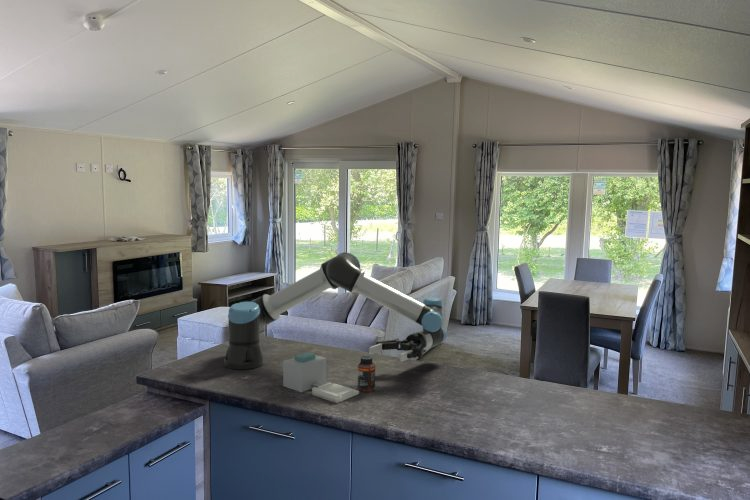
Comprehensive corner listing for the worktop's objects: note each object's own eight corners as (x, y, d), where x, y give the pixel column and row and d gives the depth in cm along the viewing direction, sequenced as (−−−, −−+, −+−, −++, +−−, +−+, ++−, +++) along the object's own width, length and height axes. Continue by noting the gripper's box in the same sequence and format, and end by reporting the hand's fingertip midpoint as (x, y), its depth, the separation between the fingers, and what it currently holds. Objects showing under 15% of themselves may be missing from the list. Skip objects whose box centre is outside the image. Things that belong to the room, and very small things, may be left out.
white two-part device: (275, 383, 188) (275, 354, 187) (300, 375, 197) (300, 346, 196) (335, 403, 170) (335, 371, 169) (359, 393, 179) (360, 362, 178)
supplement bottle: (375, 387, 186) (376, 355, 185) (374, 393, 180) (374, 360, 179) (358, 386, 186) (359, 354, 185) (356, 392, 181) (356, 359, 180)
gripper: (446, 357, 199) (414, 371, 182) (392, 346, 214) (358, 358, 198) (446, 337, 198) (414, 350, 182) (392, 327, 214) (358, 338, 197)
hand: (384, 354), depth 190 cm, fingers open, 13 cm apart
